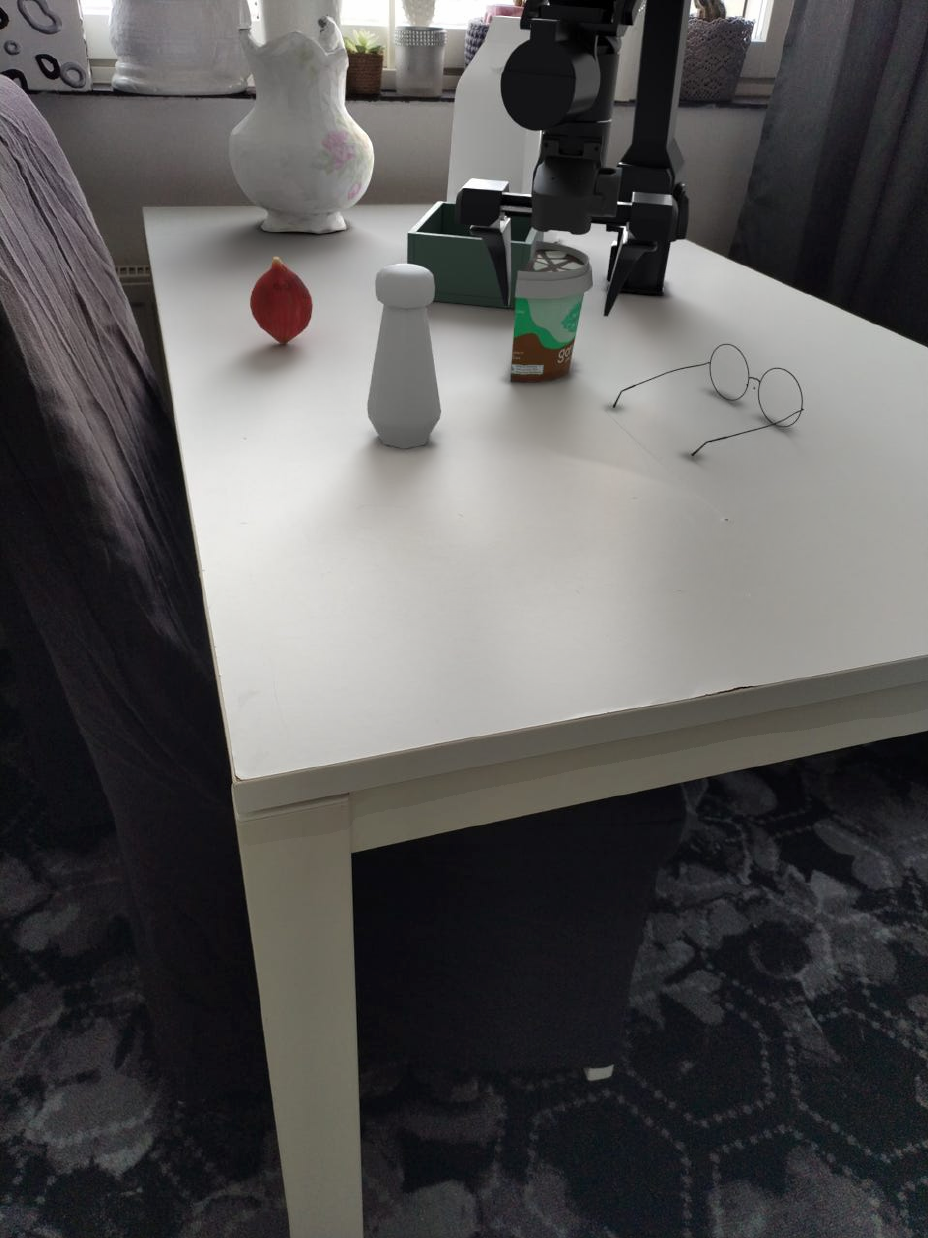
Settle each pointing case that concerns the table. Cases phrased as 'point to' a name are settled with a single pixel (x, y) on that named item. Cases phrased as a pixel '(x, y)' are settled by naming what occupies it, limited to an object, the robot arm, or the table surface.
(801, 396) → the eyeglasses
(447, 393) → the table surface
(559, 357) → the food container
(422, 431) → the salt shaker
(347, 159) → the ceramic pitcher
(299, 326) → the onion
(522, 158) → the milk
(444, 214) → the green open box
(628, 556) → the table surface
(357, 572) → the table surface
